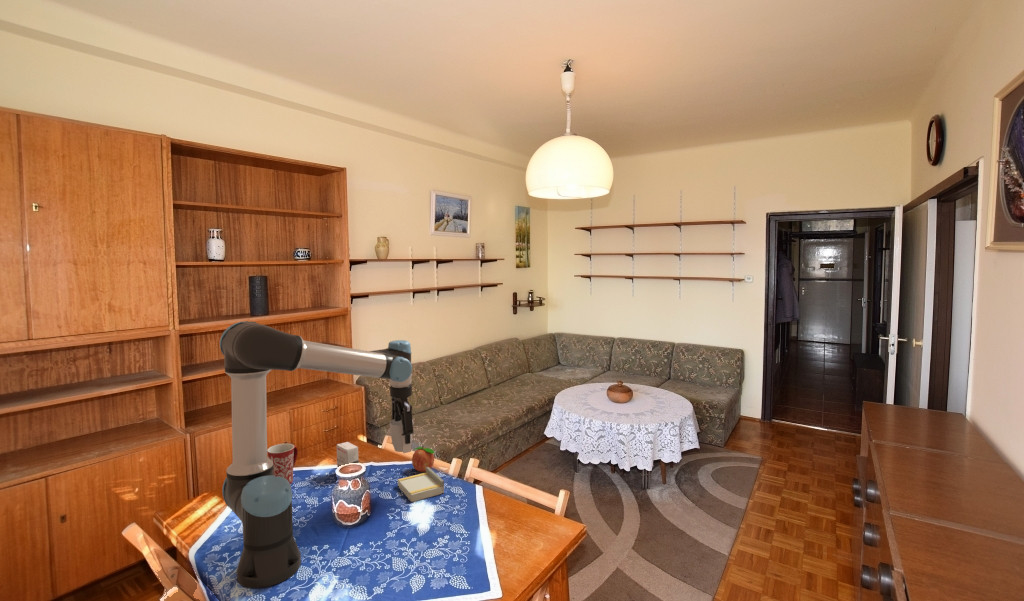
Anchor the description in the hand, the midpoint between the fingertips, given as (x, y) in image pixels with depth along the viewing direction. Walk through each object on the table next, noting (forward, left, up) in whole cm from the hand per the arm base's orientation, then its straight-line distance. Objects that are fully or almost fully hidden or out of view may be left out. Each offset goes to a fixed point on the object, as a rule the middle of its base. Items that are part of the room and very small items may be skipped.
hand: (402, 448), depth 171 cm
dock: (-2, -6, -16) cm, 17 cm away
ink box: (+24, +13, -16) cm, 32 cm away
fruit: (+13, -13, -16) cm, 25 cm away
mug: (+31, +34, -16) cm, 49 cm away
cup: (0, 0, 0) cm, 1 cm away
